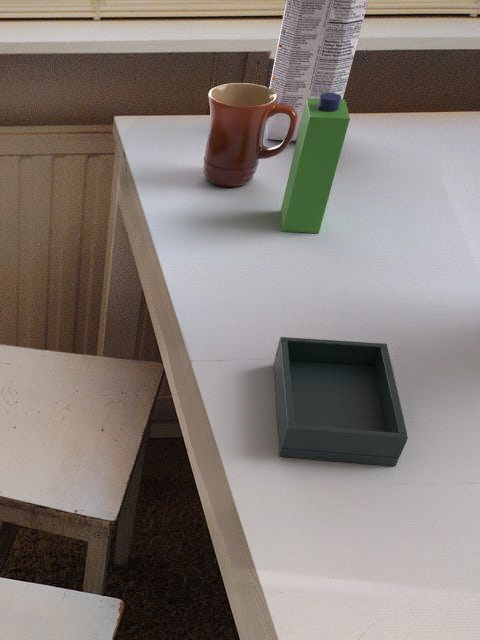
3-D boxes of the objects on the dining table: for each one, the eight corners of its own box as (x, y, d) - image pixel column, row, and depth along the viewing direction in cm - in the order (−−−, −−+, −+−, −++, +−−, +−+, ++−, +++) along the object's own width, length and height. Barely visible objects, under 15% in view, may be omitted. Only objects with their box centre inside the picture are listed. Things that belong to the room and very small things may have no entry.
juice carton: (331, 147, 120) (395, -96, 100) (258, 142, 122) (305, -98, 102) (333, 125, 126) (393, -111, 105) (263, 120, 128) (309, -113, 107)
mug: (188, 186, 114) (200, 101, 106) (205, 162, 118) (218, 79, 111) (275, 199, 110) (294, 113, 102) (289, 174, 115) (308, 90, 107)
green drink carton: (280, 210, 108) (309, 86, 97) (315, 212, 108) (348, 87, 97) (282, 231, 104) (312, 105, 93) (319, 233, 104) (353, 106, 93)
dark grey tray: (272, 364, 86) (280, 336, 83) (376, 371, 85) (386, 343, 82) (279, 456, 76) (287, 428, 74) (395, 466, 75) (408, 437, 73)
